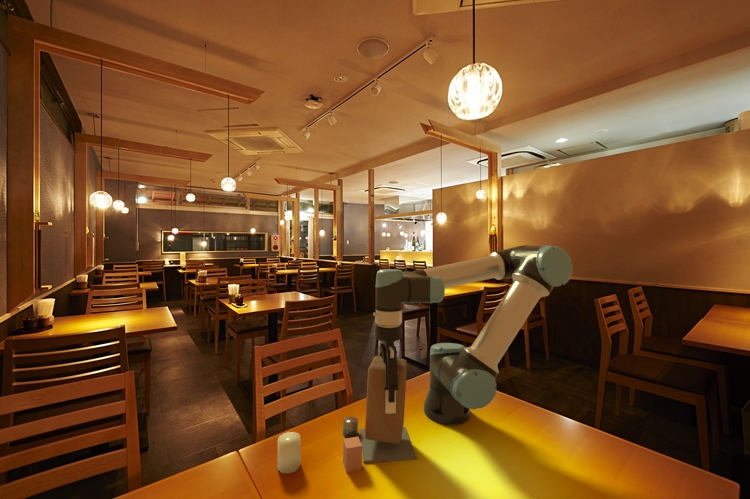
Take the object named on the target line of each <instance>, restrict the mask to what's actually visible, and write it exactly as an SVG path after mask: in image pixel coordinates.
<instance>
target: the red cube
mask: <svg viewBox="0 0 750 499" xmlns="http://www.w3.org/2000/svg"><path fill="white" fill-rule="evenodd" d="M342 447H343V448H342V463H343V466H344V470H345V473H349V472H355V471H360V470H363V453H362V444H361V438H360V437H359V436H356V437H352V438H346V437H345V438H342Z"/></svg>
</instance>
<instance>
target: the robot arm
mask: <svg viewBox="0 0 750 499" xmlns="http://www.w3.org/2000/svg"><path fill="white" fill-rule="evenodd" d="M572 274H573V264H572V258H571V257H570V255H569V253H567V251H566V250H564V249H563V248H561V247H559V246H555V245H550V244H545V245H530V244H529V245H528V244H525V245H517V246H513V247H510V248H509V247H508V248H505V249H502V250H499V251H492V252H491V253H490V254H489V255H488V256H483V257H478V258H473V259H469V260H465V261H459V262H453V263H450V264H442V265H439V266H434V267H429V268H424V269H419V270H414V271H409V270H407V271H403V270H401V269H395V268H393V269H392V268H382V269H379V270H377V272H376V276H375V285H374V287H375V307H374V308H375V312H373V313H372V315H373V316H374V318H375V320H374V321H375V322H374V323H376V324H375V325H374V338H375V339H376V340H378V341H379V353H378V356H380V357H381V358H383V362H384V363H385V368H386V384H387V386H386V387H384V390H386V396H385V413H386V414H390V413H396V390H398V376H397V358H398V356H397V355H398V351H397V347H396V346H395V342H398V341H400V340H401V339H402V332H403V331H402V328H403V327H402V325H401V324H403V304H433V303H441V302H442V301H443V300H444V297H445V291H446V289H449V288H452V287H453V288H454V287H457V286H462V285H468V284H471V283H477V282H481V281H486V280H491V279H495V280H498V281H500V280H505V279H512V283H511V285H510V287H509V288H508V290H507V292H506V293H505V294H504V296H503V297H502V299H501V301H500V302H499V303H498V305H497V306H496V308H495V309H494V311H493V312H492V314H491V316H490V317H489V319H488V320H487V322H485V323H486V324H485V325H484V326H483V328H482V329H481V331H480V332H479V334H478V336H477V337H476V339H475V340H474V341H473V343H472V344H471V346H467V347H466V346H465V345H463V344H460V343H454V342H453V343H452V342H440V343H435V344H433V345H431V346H430V351H429V352H430V353H429V389H428V391H427V393H426V396H425V400H424V403H423V413H424V415H426V417H428V419H430V420H432V421H434V422H436V423H440V424H442V425H451V426H452V425H453V426H454V425H455V426H456V425H461V424H464V423H466V422H468V420H469V419H470V417H471V416H470V415H471V410H478V409H482V408H484V407H486V406H488V405H489V404H490V403H491V402H492V401H493V400H494V399H495V397H496V396H497V382H496V378H497V377H498V376H499V373H500V372H499V368H498V364H499V363H500V361H501V360H502V358H503V357H504V355H505V353H506V352H507V350H508V349H509V347H510V345H511V344H512V343H513V341H514V339H515V338H516V336H517V335H518V333H519V331H520V330H521V328H522V327H523V325H524V324H525V322H526V320H527V319H528V318H529V316H530V315H531V313H532V311H533V309H534V308H535V307H536V305H537V304H538V302H539V300H540V299H541V298H544V297H548V296H549V295H550V294H551V292H552V291H553V289H554V287H560V286H563V285H566V284H567V283H568V282H569V281H570V280H571V277H572Z"/></svg>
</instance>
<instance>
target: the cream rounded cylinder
mask: <svg viewBox="0 0 750 499" xmlns="http://www.w3.org/2000/svg"><path fill="white" fill-rule="evenodd" d="M276 458H277V462H276V463H277V466H276V468H278V469H277V471H278V470H279V471H280V472H279V471H278V472H279V473H280V474H284V473H286V474H285V475H287V474H292V473H294V472H296V471H298V469H300V466H301V434H300V433H298V432H296V431H288V432H284V433H283V434H280V435H279V436H278V438H277V457H276Z"/></svg>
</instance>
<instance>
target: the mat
mask: <svg viewBox="0 0 750 499" xmlns="http://www.w3.org/2000/svg"><path fill="white" fill-rule="evenodd" d="M408 433H409V432H408V431H407V428H406V426H403V432H402V439H401V442H400V444H393V443H387V442H381V441H374V440H368V439H366V438H365V428H363V429H362V428H361V429H359V435H360V437H359V439H360V442H361V444H362V462H363V464H368V463H369V464H370V463H372V464H373V463H385V462H386V463H387V462H399V461H414V460H415V461H416V460H417V459H418V458H417V454H416V452H415V449H414V447H413V444H412V441H411V438H410V436H409V434H408Z"/></svg>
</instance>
